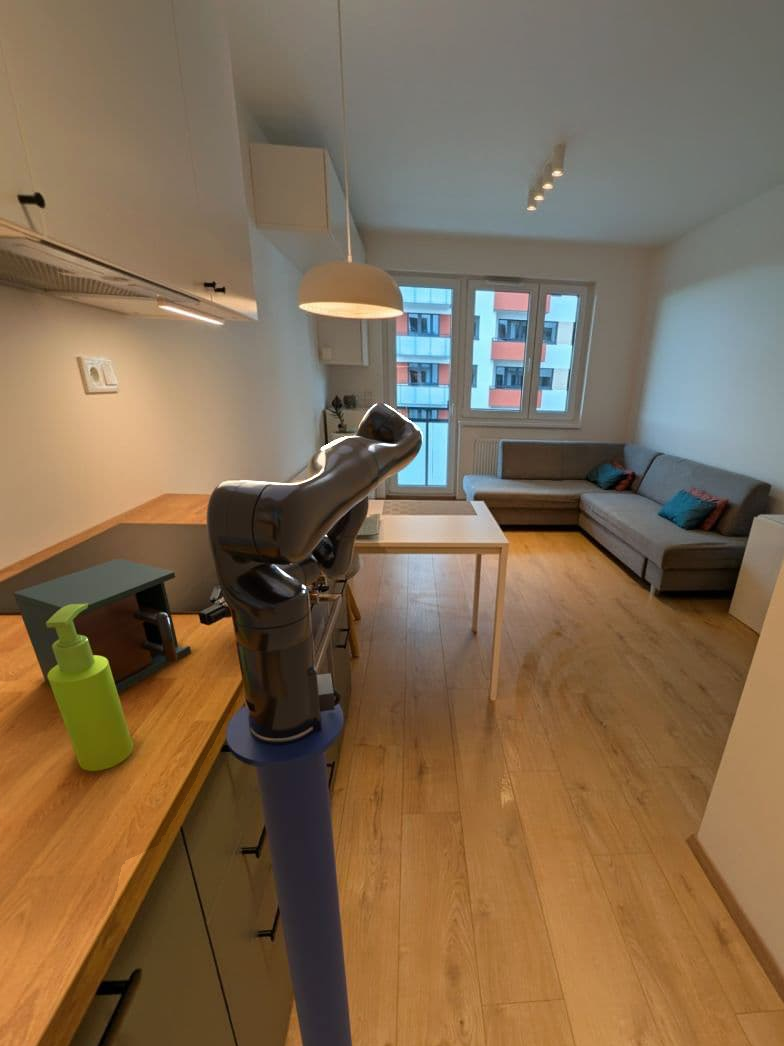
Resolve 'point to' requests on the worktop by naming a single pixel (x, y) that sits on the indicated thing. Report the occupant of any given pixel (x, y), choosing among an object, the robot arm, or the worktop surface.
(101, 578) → the cabinet
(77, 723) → the soap dispenser
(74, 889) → the worktop surface
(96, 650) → the sliding door
